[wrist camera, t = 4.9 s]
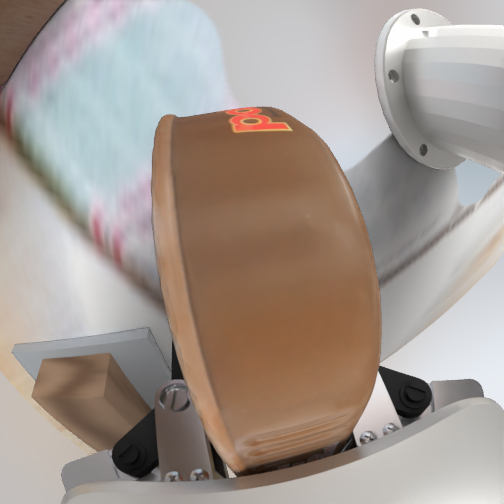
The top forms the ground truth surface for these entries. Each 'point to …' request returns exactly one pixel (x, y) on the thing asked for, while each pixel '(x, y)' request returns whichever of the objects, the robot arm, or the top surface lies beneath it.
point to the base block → (90, 398)
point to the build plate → (118, 344)
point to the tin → (265, 285)
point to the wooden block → (20, 29)
